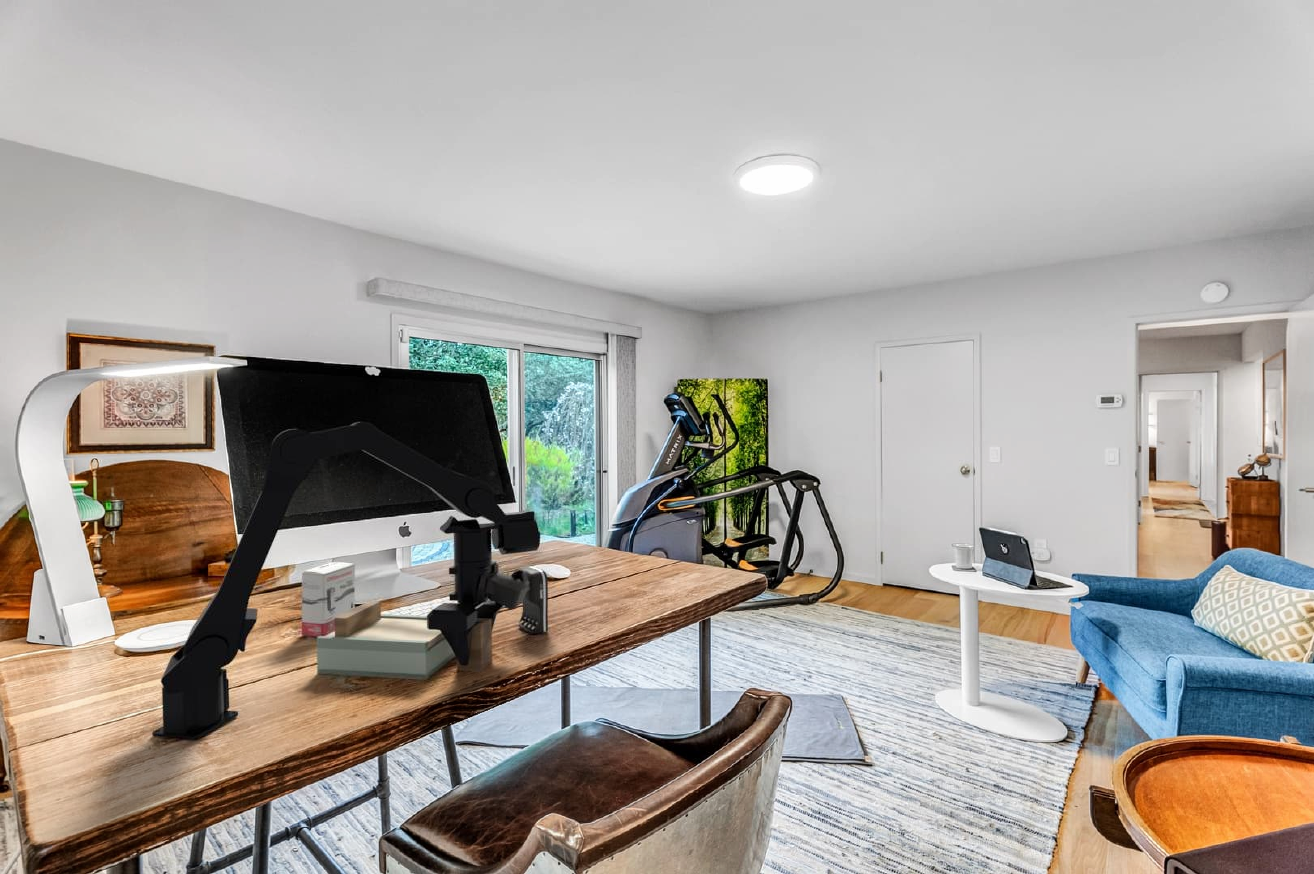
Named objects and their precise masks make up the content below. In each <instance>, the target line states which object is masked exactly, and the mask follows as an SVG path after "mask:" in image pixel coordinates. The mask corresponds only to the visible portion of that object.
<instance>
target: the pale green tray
mask: <svg viewBox="0 0 1314 874" xmlns="http://www.w3.org/2000/svg"><path fill="white" fill-rule="evenodd" d="M381 618H391V619H415V620H427V615H409V614H387V613H386V614H383V613H381ZM454 658H456V656H455V654H454V652H453V650H452V649H451V647H450V645H449V643H448V642H447V640H446V639H445V637H444V638H442V639H441V640H439V641H438V642H437V643H435V644H434V645H432V646H431V647H430V648H428V641H418V640H396V639H374V638H353V637H331V636H319V637H317V636H316V666H317V667H316V669H317V674H320V675H332V676H333V675H334V676H337V675H338V676H350V677H351V676H352V677H354V676H355V677H371V678H373V677H374V678H388V679H406V680H409V679H410V680H422V681H423V680H424V681H425V680H427V679H429V678H430V677H431V676H432V675H434V674H435V673H436V672H438V671H439V670H440V669H441V668H443V667H444V666H445V665H446V664H448V663H449V662H450V661H451V660H452V659H454Z"/></svg>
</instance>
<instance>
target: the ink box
mask: <svg viewBox="0 0 1314 874" xmlns="http://www.w3.org/2000/svg"><path fill="white" fill-rule="evenodd" d="M355 566H356V564H355V563H351V562H343V561H333V562H332V561H331V562H329V563H325V564H322V565H318V566H315V567H313V568H307V569H305V570H304V571H303V572H302V573H301V636H303V637H304V636H306V637H316V638H317V637H319V636H326V635H328V634H330V633H332V632H334V631H335V619H334V618H335V617H337V616H339V615H342V614H344V613H346V612H348V611H350V610H352V609H354V608H356V606H355V602H356V601H355V600H356V599H355V598H356V597H355V596H356V595H355V591H356V589H355V588H356V587H355V582H356V579H355V578H356V577H355V576H356V575H355V574H356V572H355V571H356V568H355Z"/></svg>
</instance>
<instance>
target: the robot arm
mask: <svg viewBox="0 0 1314 874" xmlns="http://www.w3.org/2000/svg"><path fill="white" fill-rule="evenodd" d="M360 450H361V451H363V452H364V453H367V454H368V455H370V456H372V457H374V458H375V459H377V460H379V461H381V462H382V463H384V464H386V465H388V466H390V467H392V468H394V470H395V469H396V470H397V471H399V472H401V473H403V474H404V475H406V476H408V477H410V478H411V479H413V480H415V481H417V482H419V483H421V484H423V485H424V486H426V487H427V488H429V489H430V490H431V491H432V492H433V493H434V494H436V495H437V496H438V497H439V498H440V499H441V500H443V501H444V502H445V503H447V505H449V506H450V508H452V509H454V510H455V511H457V512H458V513H460V514H463V515H465V516H466V517H469V518H471V519H462V520H461V519H460V520H458V519H457V518H456V517H454V516H452V515H450V516H449V517H448V519H447V520H446V521H445V522H444V523H443V524H442V525H440V527H439V531H441V532H442V533H444V534H446V535H447V534H448V535H449V534H453V563H454V564H453V565H451V566H450V567H448V575H454V576H453V582H454V591H452V592H451V593H449V596H448V597H449V601H450V602H442V603H441V604H439V605H437V606H436V607H434V608H433V609H431V611H430V612H429V613H428V614H427V615H426V616H427V628H428V629H430V630H440V631H441V633H442V634H443V636H444V637H445V639H446V640H447V642H448V643H449V645H450V647H451V649H452V650H453V652H454V654H455V658H456V660H457V659H458V661H459V663H460V665H464V666H466V665H468V662H469V656H470V647H471V637H472V632H473V630H474V629H475V628H476V627H477V626H478V625H479V624H480V622H476V619H477V618H487V619H491V622H492V630H493V629H494V625H495V621H496V618H497V615H498V613H499V612H500V611H501V610H502V609H503V608H505V609H508V610H515V609H517V608H518V606H520V605H521V604H522V605H523V600H524V597H525V594H526V592H527V591H528V590H529V589H530V587H529V581H528V578H527V572H526V571H524V570H521V569H522V568H518V569H516V570H515V571H514V572H513V573H511V574H510V573H508V572H507V573H502V572H499V564H498V563H497V561H493V559H492V553H493V552H492V547H493V549H494V550H498V551H499V553H500V554H501V555H502V556H504V555H510V554H511V555H512V554H519V553H521V554H522V553H527V552H529V553H530V552H535V551H538V550H539V547H540V545H541V531H539V525H538V522H537V520H536V518H535V517H536V516H535V510H531V509H528V510H527V509H525V510H521V511H517V512H516V511H515V512H505V511H504V510H503V509H502V508H501V507H500V506H499V505H498V503H497V502H496V501H495V500H496V498H495V497H496V496H495V492H494V489H493V487H492V486H491V485H490V484H488V482H485V481H483V480H480V479H477V478H474V477H471V476H468V475H466V474H463V473H461V472H457V471H454V470H451V469H449V468H446V467H444V466H442V465H440V464H438V463H437V462H435V461H434V460H431V459H430V458H428V457H427V456H424V454H421V453H420V452H418V451H416V450H414V449H412V448H411V447H409V446H407V445H405V444H404V443H402V442H400V441H399V440H397V439H396V438H394V437H392V436H390V435H389V434H387V433H385V432H384V431H382V430H379V428H378V427H376V426H375V425H374V423H373V424H372V423H371V422H368V421H357V422H353V423H352V424H349V425H346V426H340V427H335V428H330V429H329V428H328V429H325V430H320V431H319V430H318V431H313V432H310V431H307V430H304V429H300V428H298V429H297V428H291V429H286V430H284V431H282V432H280V433H279V434H278V435H276V436H275V438H274V439H273V441H272V443H271V446H270V451H269V455H268V460H267V466H266V469H265V473H264V478H263V483H262V489H261V490H260V491H261V492H260V494H259V496H258V498H257V501H256V503H255V505H254V508H253V510H252V512H251V514H250V517H249V519H248V522H247V524H246V526H245V528H244V530H243V532H242V535H241V537H240V540H239V542H238V544H237V547H236V550H235V552H234V554H233V556H232V558H231V561H230V563H229V566H228V568H227V569H226V570H227V571H226V573H225V575H224V577H223V579H222V582H221V584H220V586H219V588H218V590H217V591H216V593H214V595H213V596H212V598H211V599H210V601H209V602H207V603H208V604H207V605H206V607H205V608H204V609H203V611H202V612H201V614H200V615H199V616H198V618H197V620H196V622H195V623H194V624H193V626H192V628H191V629H190V630H189V631H190V632H189V634H188V636H187V637H186V638H187V639H186V640H185V643H184V644H183V645H182V646H181V647H180V648H178V650H176V652H175V653H173V655H172V656H171V657H170V659H169V662H168V663H167V666H166V667H165V670H164V673H163V674H162V677H161V679H160V683H161V684H162V687H161V703H162V704H161V705H162V726H160V727H159V728H157V729H155V730H153V731H152V733H151V734H152V735H151V736H152V737H159V738H170V739H171V738H172V739H183V740H197V739H200V738H202V737H203V736H205V735H207V734H209V733H210V732H212V731H214V730H215V729H217V728H219V727H220V726H222V725H224V724H226V723H228V722H229V721H232V720H233V719H234V718H236V717H238V716H239V711H237V710H230V691H229V688H230V687H229V684H230V683H229V681H230V680H229V678H228V676H227V669H226V668H224V667H227V666H228V665H230V664H231V663H232V662H233V661H234V659H235V658H236V656H237V655H238V652H239V651H240V652H241V653H244V652H245V651H246V645H247V638H248V636H249V634H250V633H251V632H252V630H253V628H254V627H255V625H256V623H257V621H258V610H259V609H258V608H249V607H248V606H249V601H250V597H251V595H252V593H253V591H254V588H255V586H256V583H257V581H258V580H259V579H258V578H259V576H260V574H261V572H262V569H263V567H264V565H265V562H266V559H267V558H268V554H269V552H270V550H271V548H272V545H273V542H274V541H275V538H276V536H277V534H278V531H279V528H280V526H281V524H282V521H283V519H284V517H285V515H286V513H287V510H288V507H289V505H290V502H291V501H292V499H293V497H294V496H295V495H296V493H297V492H298V490H299V489H300V487H301V486H302V485H303V484H304V481H306V479H307V478H308V476H309V475H310V473H311V471H312V470H313V469H314V467H315V466H316V465H317V463H318V461H319V460H323V459H327V458H331V457H336V456H339V455H343V454H347V453H351V452H355V451H360ZM477 518H483V519H486V520H487V521H489V523H479V521H478V520H477ZM451 601H453V602H451ZM455 602H457V603H455Z"/></svg>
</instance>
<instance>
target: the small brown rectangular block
mask: <svg viewBox="0 0 1314 874" xmlns="http://www.w3.org/2000/svg"><path fill="white" fill-rule="evenodd" d="M476 622H480V624H479V625H478V626H477V627H476V628H475V629H474V630H473V632H472V637H471V647H470V656H469V662H468V665H466V666H464V665H460V663H459V661H458V659H457V658H456V668H457V669H456V670H457V671H463V672H483V671H484V670H485V669H486V668H487V667H488V666H489V665H490V664H491V663H492V662H493V638H492V637H493V635H492V634H493V633H492V632H493V629H492V622H491V619H487V618H477V619H476Z"/></svg>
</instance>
